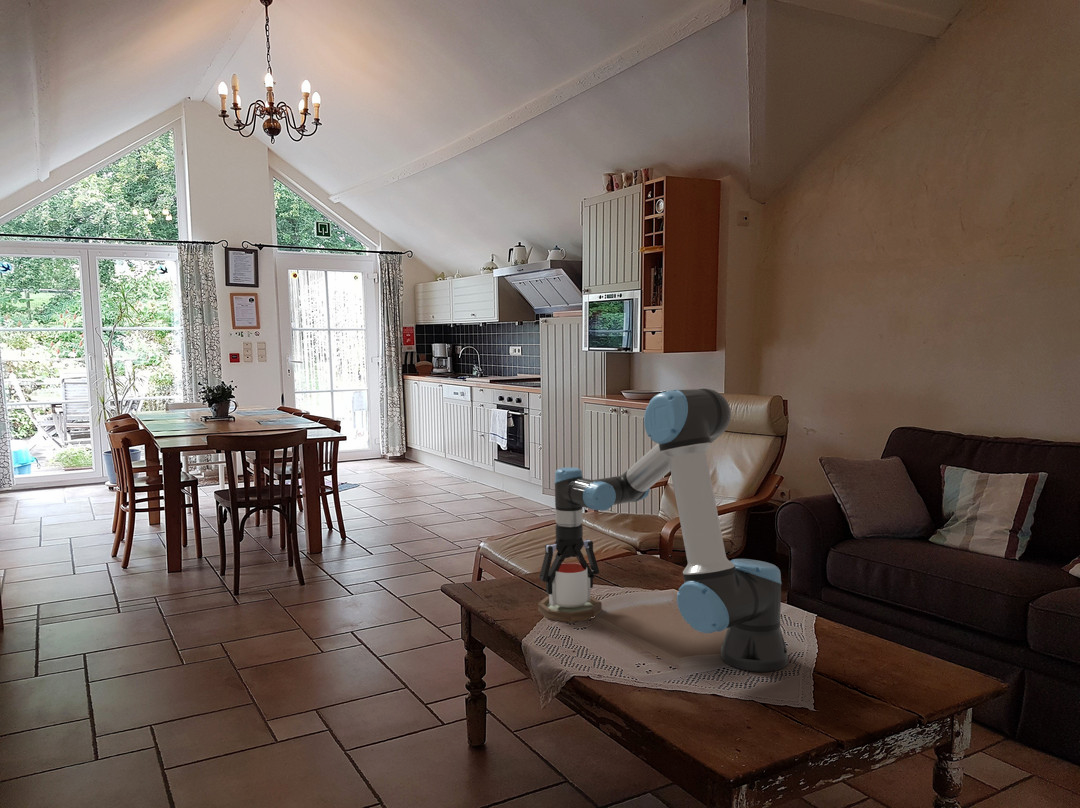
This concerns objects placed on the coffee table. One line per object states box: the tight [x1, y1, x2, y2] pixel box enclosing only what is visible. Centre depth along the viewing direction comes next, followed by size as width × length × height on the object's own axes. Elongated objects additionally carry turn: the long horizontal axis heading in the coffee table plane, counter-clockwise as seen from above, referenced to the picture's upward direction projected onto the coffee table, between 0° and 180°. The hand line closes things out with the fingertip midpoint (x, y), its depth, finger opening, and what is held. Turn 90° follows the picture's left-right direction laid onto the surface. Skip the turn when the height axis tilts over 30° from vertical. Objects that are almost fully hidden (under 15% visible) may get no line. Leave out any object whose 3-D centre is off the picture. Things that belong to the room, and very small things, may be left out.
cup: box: [553, 562, 588, 608], centre depth 213 cm, size 10×10×10 cm
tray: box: [537, 594, 603, 623], centre depth 214 cm, size 16×16×2 cm
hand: (569, 602), depth 213 cm, fingers closed on cup, 10 cm apart
